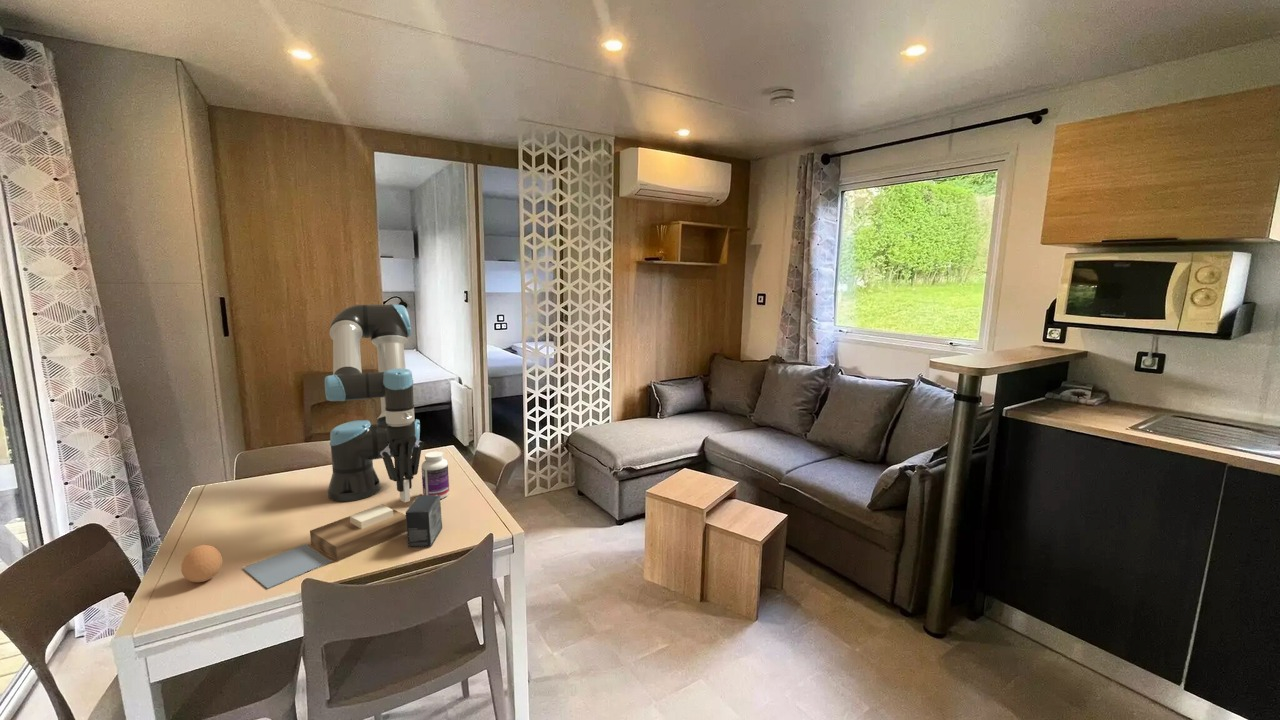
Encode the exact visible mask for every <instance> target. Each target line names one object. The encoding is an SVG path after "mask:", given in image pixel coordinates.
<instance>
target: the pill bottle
mask: <svg viewBox="0 0 1280 720" xmlns="http://www.w3.org/2000/svg"><path fill="white" fill-rule="evenodd" d="M420 467H421V481H422V495H440V500H442V499H444V498H446V497H447V496H448V495H449V494H450V479H449V464H448V460H447V459H445V458H444V452H443V451H430V452H427V453H425V455H424V461H423V462H422V463H421V466H420Z"/></svg>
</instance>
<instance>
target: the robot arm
mask: <svg viewBox="0 0 1280 720" xmlns="http://www.w3.org/2000/svg"><path fill="white" fill-rule="evenodd" d="M330 322H331V323H330V325H329V337H330V338H331V340H332V341H333V342H332V346H333V347H332V350H333V351H332V352H333V353H332V359H333V360H332V367H333V368H332V372H333V374H332V375H327V376H326V375H325V377H324V392H325V398H326V399H325V400H327V401H329V402H345V401H353V400H355V401H356V400H366V399H378V398H380V407H381V409H380V410H381V413H380V415H379V416H378V417H377V418H376V423H373V424H371V421H370V420H368V419H357V420H351V421H347V422H345V423H342V424H338V425H337V426H335V427H334V428H332V429H331V431H330V433H329V438H330V439H329V440H330V442H329V445H330V453H331V465H332V466H331V467H332V469H331V470H332V474H331V478H330V481H329V485H328V488H327V497H328V498H329V499H330V500H331V501H335V502H353V501H358V500H363V499H366V498H368V497H371V496H373V495H375V494H377V493H378V492H379V491H380V490H381V481H380V479H379V476H378V475H377V474H378V473H377V472H376V470H375V468H374V464H373V463H374V462H373V460H380V459H382V461H383V463H384V466H385V468H386V473H387V475H388V478H389V480H390V481H393V482H396V491H398V492H399V500H400V501H401V502H403V503H407V502H410V501H411V493H410V492H411V491H410V489H412V487H413V485H412V483H413V482H412V480H413V479H415V477H414V476H416V475H418V473H419V466H420V461H421V455H422V449H423V448H424V445H425V442H424V441H421V440H420V435H421V434H420V433H421V422H420V419H417V418H416V419H415V404H414V403H415V401H414V378H413V371H412V370H410V369H408V368H406V361H405V358H406V357H405V349H404V348H405V347H404V345H405V344H406V343H408V340H409V338H410V337H411V336H412V327H411V320H410V316H409V312H408V309H407V307H405V306H404V305H402V304H393V303H390V304H355V305H351V306H348V307H346V308H345V309H342V310H341V311H340V312H339V313H338V314H336V316H334V317H333V319H332V321H330ZM362 339H370V340H371V344H372V345H373V346H375V347H376V353H377V354H376V355H377V356H376V357H377V369H378V371H377V372H365V373H364V372H363V371H362V357H361V344H360V343H361V340H362ZM392 458H393V459H392Z"/></svg>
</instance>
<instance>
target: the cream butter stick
mask: <svg viewBox="0 0 1280 720" xmlns="http://www.w3.org/2000/svg"><path fill="white" fill-rule="evenodd" d="M382 504H383V503H381V504H379V505H376V506H373V507H370V508H367V509H365V510H362V511H359V512H356V513H354V514H351V515H349V516H350V523H352V524H354V525H355V526H357V527H359V528H361V529H363V528H366V527H368V526H371V525H373V524H376V523H378V522H381V521H383V520H386V519H388V518H391V517H394V516H393V510H392V509H393V508H392V509H390V508H391V507H390V508H388V507H389V506H388V507H386V506H387V505H386V506H384V505H385V504H383V505H382Z"/></svg>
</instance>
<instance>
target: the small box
mask: <svg viewBox="0 0 1280 720" xmlns="http://www.w3.org/2000/svg"><path fill="white" fill-rule="evenodd" d="M441 503H442V502H441V499H440V495H423V494H421V495H418V496H417V497H416V498H415V500H414V501H413V502H412V503H411V505H410V506H409V507H408V508H407V510H406V511H405V515H406V524H407V532H406V534H407V535H406V536H407V548H409V549H411V548H413V549H414V548H431V547H432V546H433V544H434V543H435V541H436V539H437V538H438V537H439V534H441V531H442V530H443V521H442V520H443V519H442V506H441V505H442V504H441Z"/></svg>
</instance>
